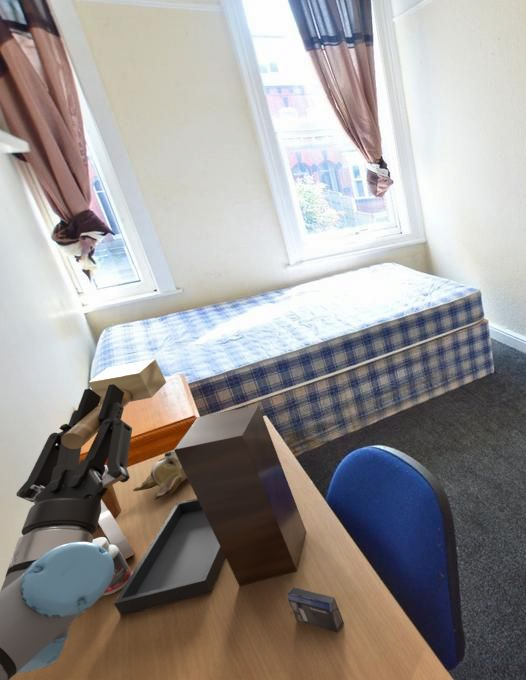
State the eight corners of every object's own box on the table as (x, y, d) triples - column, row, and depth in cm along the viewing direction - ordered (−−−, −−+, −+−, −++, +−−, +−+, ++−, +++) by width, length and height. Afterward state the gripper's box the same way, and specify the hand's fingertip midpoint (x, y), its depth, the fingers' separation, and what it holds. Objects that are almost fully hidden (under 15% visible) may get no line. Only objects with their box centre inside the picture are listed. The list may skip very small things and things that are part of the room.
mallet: (107, 442, 70) (91, 414, 68) (46, 455, 69) (28, 426, 67) (166, 382, 88) (155, 358, 86) (119, 391, 87) (107, 367, 85)
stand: (297, 571, 86) (242, 435, 74) (239, 586, 84) (173, 449, 72) (306, 531, 95) (258, 404, 83) (254, 544, 93) (198, 417, 82)
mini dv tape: (296, 621, 76) (285, 595, 74) (303, 612, 78) (292, 587, 75) (338, 632, 74) (328, 606, 72) (344, 623, 75) (334, 597, 73)
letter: (140, 562, 92) (117, 523, 88) (126, 570, 91) (103, 531, 87) (111, 517, 106) (90, 482, 102) (99, 524, 104) (78, 488, 100)
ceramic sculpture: (207, 438, 115) (143, 480, 104) (221, 465, 119) (162, 509, 107) (182, 432, 120) (119, 471, 108) (196, 458, 124) (137, 498, 112)
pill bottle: (111, 599, 85) (85, 560, 81) (91, 593, 86) (65, 554, 83) (140, 574, 89) (117, 536, 86) (121, 569, 91) (98, 531, 87)
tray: (211, 592, 84) (205, 580, 82) (121, 616, 81) (113, 603, 80) (251, 497, 107) (246, 486, 106) (182, 513, 104) (176, 502, 103)
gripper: (14, 557, 65) (67, 412, 79) (140, 528, 68) (169, 392, 81) (-35, 543, 59) (32, 388, 73) (104, 511, 62) (143, 368, 75)
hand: (104, 391), depth 77 cm, fingers closed on mallet, 3 cm apart
